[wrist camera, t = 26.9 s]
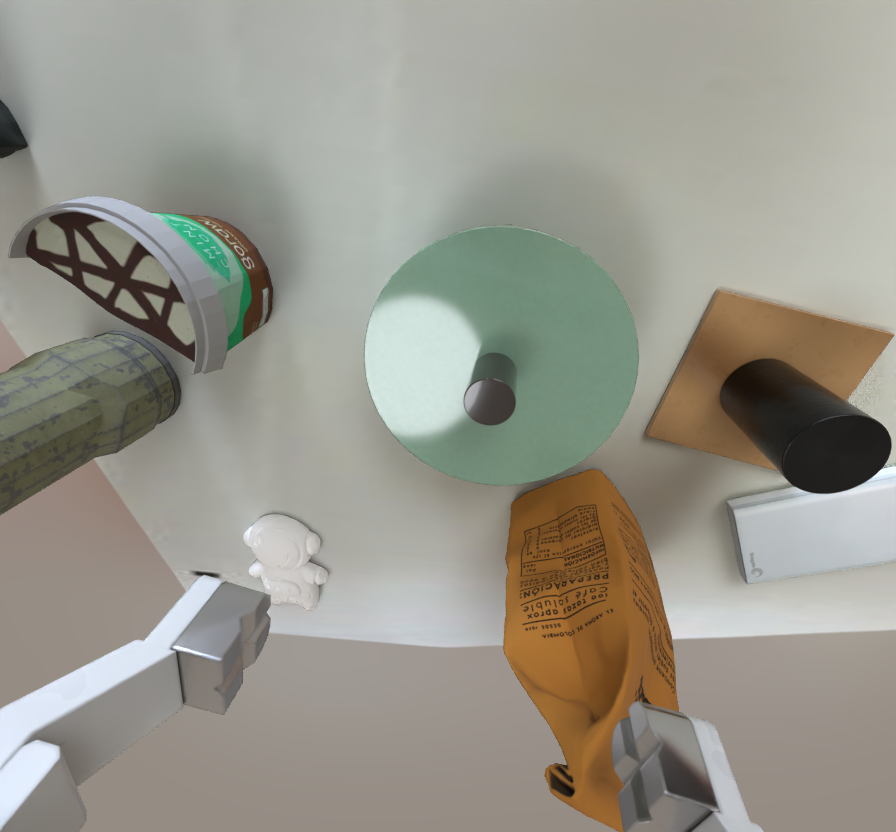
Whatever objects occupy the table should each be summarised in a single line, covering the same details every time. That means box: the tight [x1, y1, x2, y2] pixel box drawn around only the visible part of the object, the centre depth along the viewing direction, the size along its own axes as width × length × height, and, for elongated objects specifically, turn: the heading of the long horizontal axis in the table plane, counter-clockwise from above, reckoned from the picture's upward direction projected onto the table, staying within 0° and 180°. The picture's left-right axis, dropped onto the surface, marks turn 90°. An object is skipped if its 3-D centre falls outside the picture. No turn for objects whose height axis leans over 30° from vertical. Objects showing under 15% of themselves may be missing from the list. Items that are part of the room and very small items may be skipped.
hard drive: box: [726, 466, 896, 584], centre depth 34 cm, size 2×8×12 cm
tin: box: [720, 358, 891, 494], centre depth 26 cm, size 5×5×8 cm
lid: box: [364, 226, 639, 485], centre depth 24 cm, size 16×16×5 cm
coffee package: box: [503, 470, 679, 832], centre depth 29 cm, size 10×12×22 cm
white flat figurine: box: [244, 514, 328, 611], centre depth 44 cm, size 9×12×3 cm
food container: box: [8, 196, 273, 375], centre depth 28 cm, size 12×6×10 cm, turn 56°
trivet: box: [645, 290, 894, 471], centre depth 30 cm, size 11×11×1 cm
